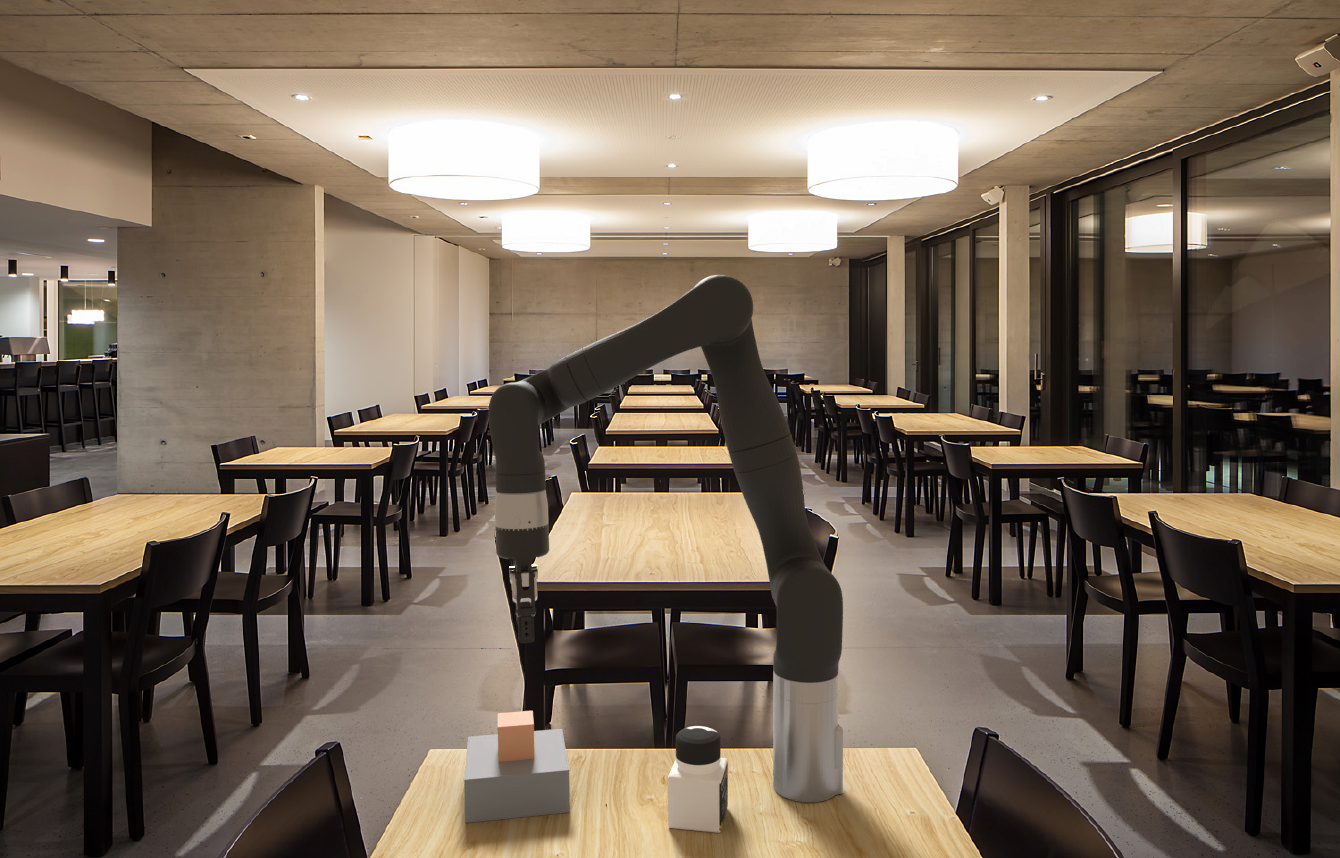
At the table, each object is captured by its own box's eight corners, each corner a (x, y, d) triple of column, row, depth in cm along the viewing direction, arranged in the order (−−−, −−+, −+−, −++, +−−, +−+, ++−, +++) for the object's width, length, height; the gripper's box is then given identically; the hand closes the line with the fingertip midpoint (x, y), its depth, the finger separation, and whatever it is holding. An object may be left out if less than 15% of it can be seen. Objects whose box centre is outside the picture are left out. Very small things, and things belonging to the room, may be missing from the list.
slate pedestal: (562, 766, 134) (562, 728, 133) (569, 812, 120) (569, 770, 120) (469, 775, 131) (468, 736, 131) (465, 823, 117) (464, 779, 117)
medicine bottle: (720, 834, 114) (720, 745, 113) (667, 829, 116) (666, 740, 115) (728, 807, 121) (727, 723, 120) (677, 802, 123) (677, 719, 122)
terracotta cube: (533, 743, 128) (532, 710, 128) (534, 758, 123) (533, 724, 123) (498, 746, 127) (497, 713, 127) (498, 762, 122) (497, 727, 122)
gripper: (551, 529, 118) (555, 646, 120) (545, 512, 132) (548, 617, 134) (495, 532, 117) (499, 651, 118) (494, 515, 131) (498, 621, 132)
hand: (525, 633), depth 126 cm, fingers open, 8 cm apart
